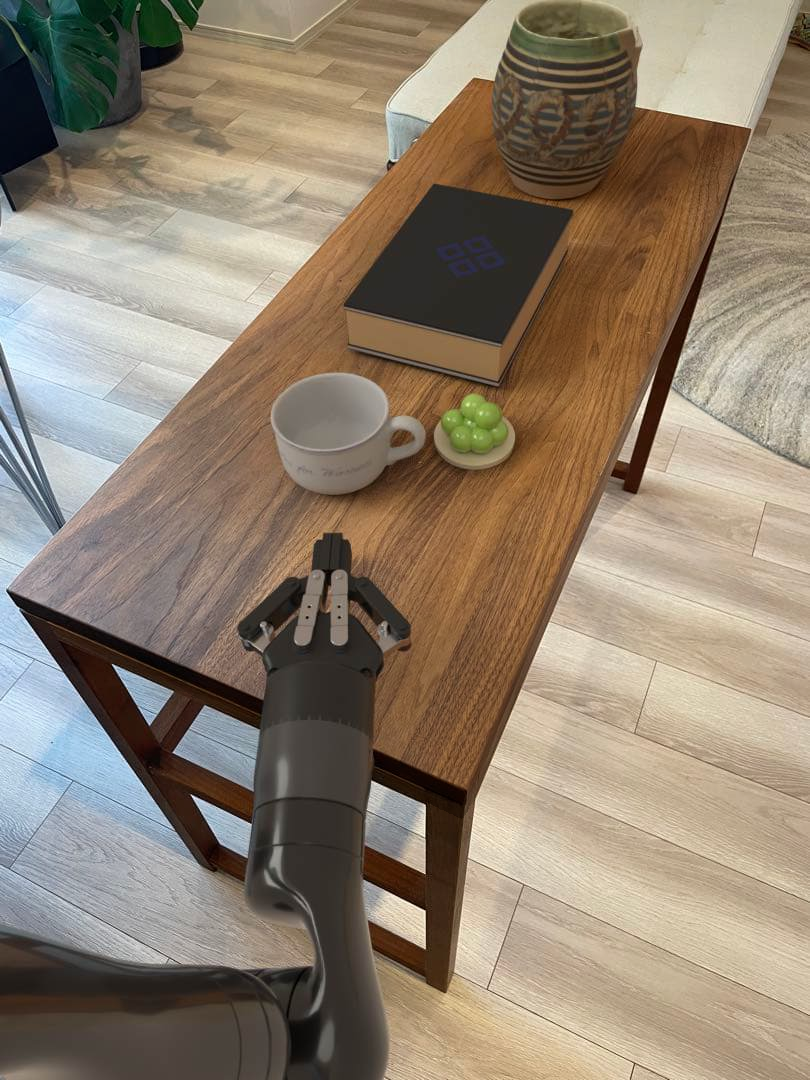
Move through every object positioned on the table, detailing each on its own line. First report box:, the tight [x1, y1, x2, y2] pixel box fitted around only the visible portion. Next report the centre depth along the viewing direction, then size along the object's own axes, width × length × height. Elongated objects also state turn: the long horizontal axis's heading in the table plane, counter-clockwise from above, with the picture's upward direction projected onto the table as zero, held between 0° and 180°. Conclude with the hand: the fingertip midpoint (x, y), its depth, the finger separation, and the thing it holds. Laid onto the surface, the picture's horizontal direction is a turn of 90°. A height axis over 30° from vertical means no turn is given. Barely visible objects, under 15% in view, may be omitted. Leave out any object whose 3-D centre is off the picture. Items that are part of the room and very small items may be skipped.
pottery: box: [491, 0, 644, 200], centre depth 104 cm, size 18×18×20 cm
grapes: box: [433, 392, 516, 471], centre depth 80 cm, size 8×8×5 cm
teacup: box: [269, 372, 427, 496], centre depth 77 cm, size 14×11×8 cm
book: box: [342, 182, 575, 388], centre depth 93 cm, size 17×25×7 cm
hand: (333, 539), depth 65 cm, fingers closed
